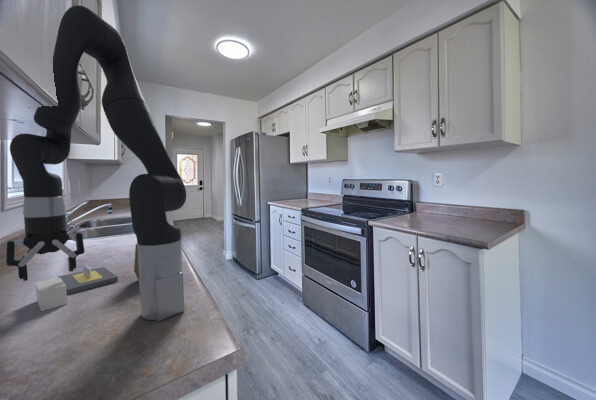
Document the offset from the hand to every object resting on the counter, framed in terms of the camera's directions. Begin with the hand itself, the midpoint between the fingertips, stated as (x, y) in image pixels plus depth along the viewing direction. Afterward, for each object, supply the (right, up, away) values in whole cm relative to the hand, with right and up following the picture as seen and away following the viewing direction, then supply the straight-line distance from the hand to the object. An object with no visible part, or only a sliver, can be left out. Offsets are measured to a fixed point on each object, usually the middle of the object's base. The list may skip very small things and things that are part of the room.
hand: (49, 275), depth 66 cm
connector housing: (0, -7, 0) cm, 7 cm away
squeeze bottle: (+17, -6, +16) cm, 24 cm away
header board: (-2, -6, +14) cm, 16 cm away
